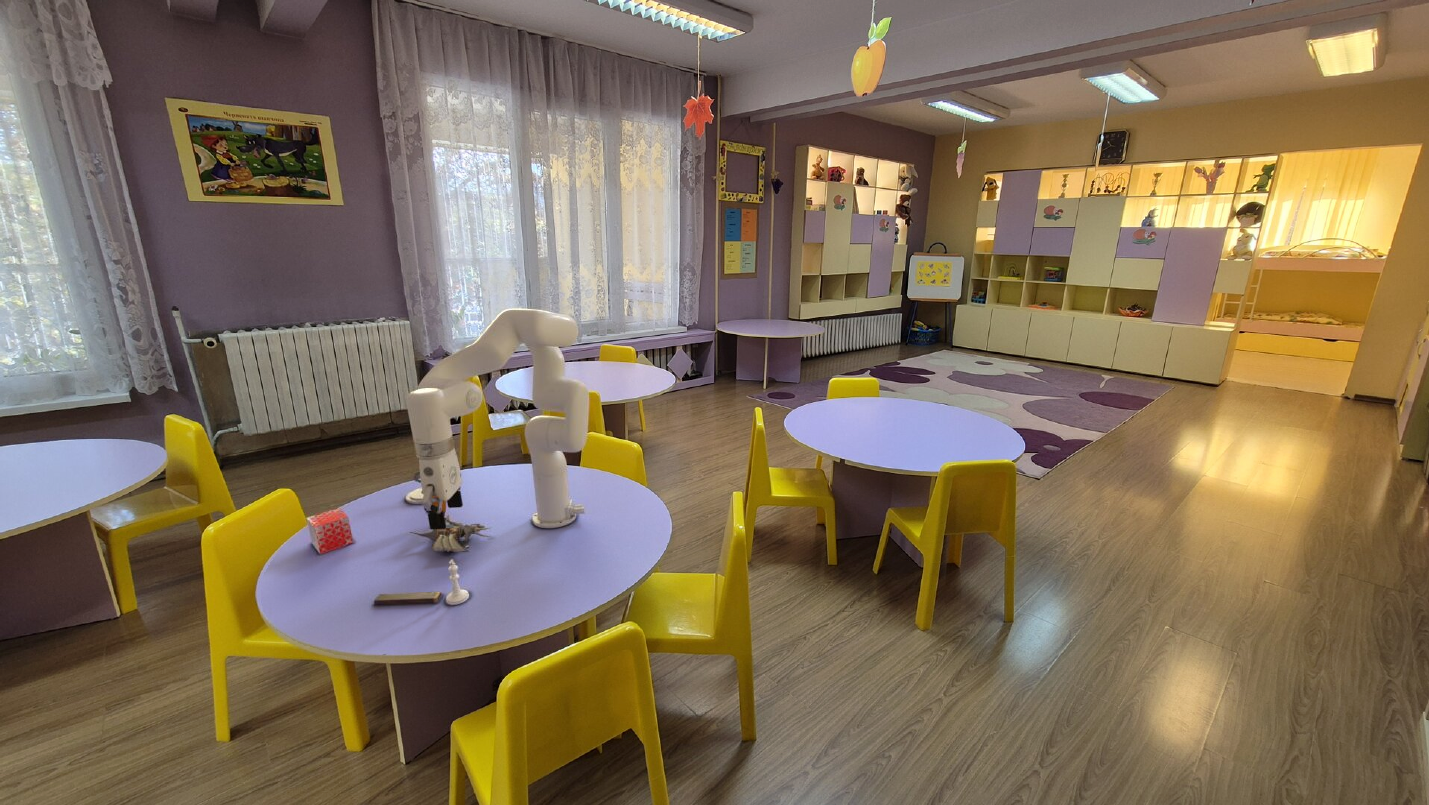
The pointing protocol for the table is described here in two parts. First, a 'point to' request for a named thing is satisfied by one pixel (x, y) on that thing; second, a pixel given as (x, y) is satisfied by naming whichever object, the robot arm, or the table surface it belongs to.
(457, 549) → the figurine
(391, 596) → the walnut stick
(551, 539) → the table surface
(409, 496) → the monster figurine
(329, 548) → the red patterned box
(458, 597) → the chess piece
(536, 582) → the table surface
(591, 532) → the table surface
